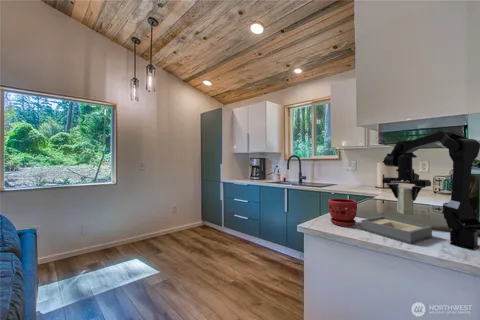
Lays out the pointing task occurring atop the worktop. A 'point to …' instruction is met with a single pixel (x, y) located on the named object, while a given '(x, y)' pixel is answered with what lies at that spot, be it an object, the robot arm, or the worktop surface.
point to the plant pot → (342, 211)
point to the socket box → (397, 229)
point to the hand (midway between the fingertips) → (405, 199)
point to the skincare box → (405, 201)
